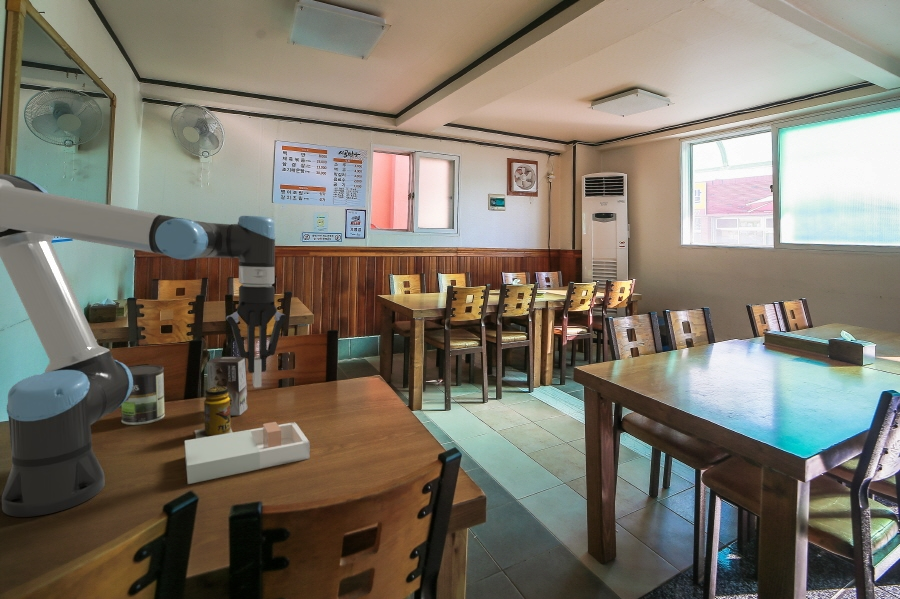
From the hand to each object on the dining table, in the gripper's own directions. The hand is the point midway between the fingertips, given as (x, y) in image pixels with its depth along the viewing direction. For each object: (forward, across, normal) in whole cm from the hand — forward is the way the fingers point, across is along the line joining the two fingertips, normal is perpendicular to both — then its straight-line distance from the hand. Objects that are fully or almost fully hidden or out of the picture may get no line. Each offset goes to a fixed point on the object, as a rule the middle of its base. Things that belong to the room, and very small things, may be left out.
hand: (257, 385), depth 107 cm
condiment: (+18, -8, +19) cm, 27 cm away
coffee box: (+18, -2, +34) cm, 38 cm away
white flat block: (+17, -8, 0) cm, 19 cm away
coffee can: (+18, -24, +39) cm, 49 cm away
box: (+17, +5, 0) cm, 18 cm away
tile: (+14, +2, 0) cm, 14 cm away
